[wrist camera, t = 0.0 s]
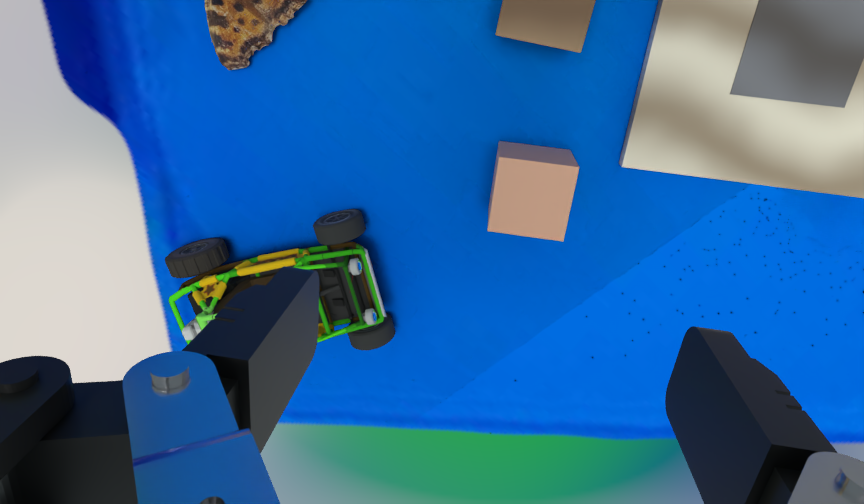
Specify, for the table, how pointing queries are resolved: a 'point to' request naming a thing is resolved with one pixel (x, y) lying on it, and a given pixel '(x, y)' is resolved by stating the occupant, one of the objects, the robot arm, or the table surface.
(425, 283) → the table surface
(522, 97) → the table surface
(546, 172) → the terracotta cube
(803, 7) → the cream flat pad
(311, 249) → the motor vehicle
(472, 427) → the table surface
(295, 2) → the butterfly model
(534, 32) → the walnut cube
